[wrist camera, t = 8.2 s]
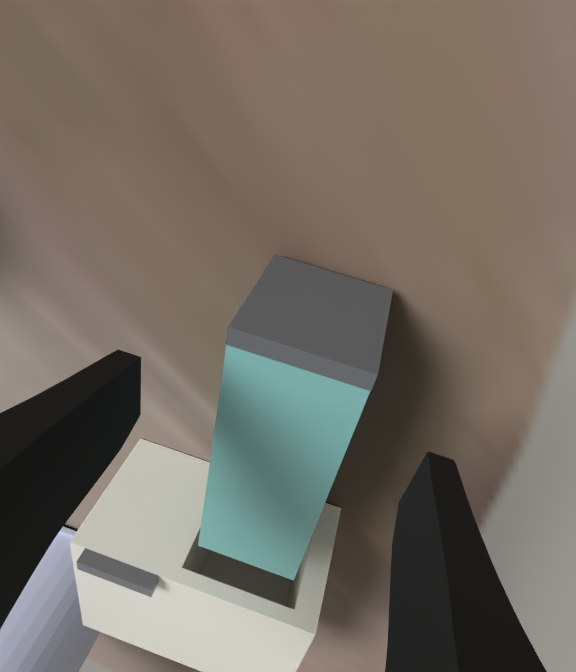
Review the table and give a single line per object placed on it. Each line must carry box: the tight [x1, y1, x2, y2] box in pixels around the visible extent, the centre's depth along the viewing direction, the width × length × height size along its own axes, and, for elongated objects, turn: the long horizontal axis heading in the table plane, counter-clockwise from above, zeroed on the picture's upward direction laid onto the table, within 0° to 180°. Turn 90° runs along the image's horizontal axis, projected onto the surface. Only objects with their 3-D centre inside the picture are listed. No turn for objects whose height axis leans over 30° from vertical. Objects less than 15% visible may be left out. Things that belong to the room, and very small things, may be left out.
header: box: [70, 438, 341, 672], centre depth 24 cm, size 8×10×6 cm
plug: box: [198, 255, 393, 581], centre depth 18 cm, size 11×4×4 cm, turn 170°
